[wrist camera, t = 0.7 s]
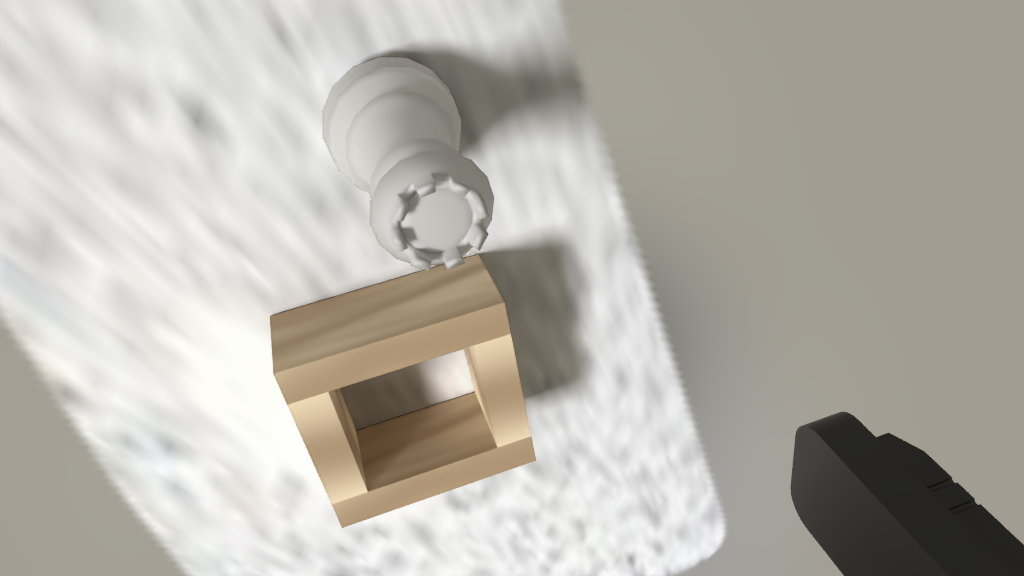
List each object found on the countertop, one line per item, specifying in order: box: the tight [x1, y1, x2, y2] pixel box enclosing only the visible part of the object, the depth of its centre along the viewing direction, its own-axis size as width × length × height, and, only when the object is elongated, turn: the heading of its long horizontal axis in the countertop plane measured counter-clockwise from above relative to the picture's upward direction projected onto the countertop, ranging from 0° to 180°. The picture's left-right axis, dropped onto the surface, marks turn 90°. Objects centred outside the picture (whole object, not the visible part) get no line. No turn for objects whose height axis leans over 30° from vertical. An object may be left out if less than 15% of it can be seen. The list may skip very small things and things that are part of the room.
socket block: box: [270, 254, 536, 528], centre depth 29 cm, size 8×8×4 cm
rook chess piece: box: [322, 57, 494, 271], centre depth 22 cm, size 4×4×8 cm
